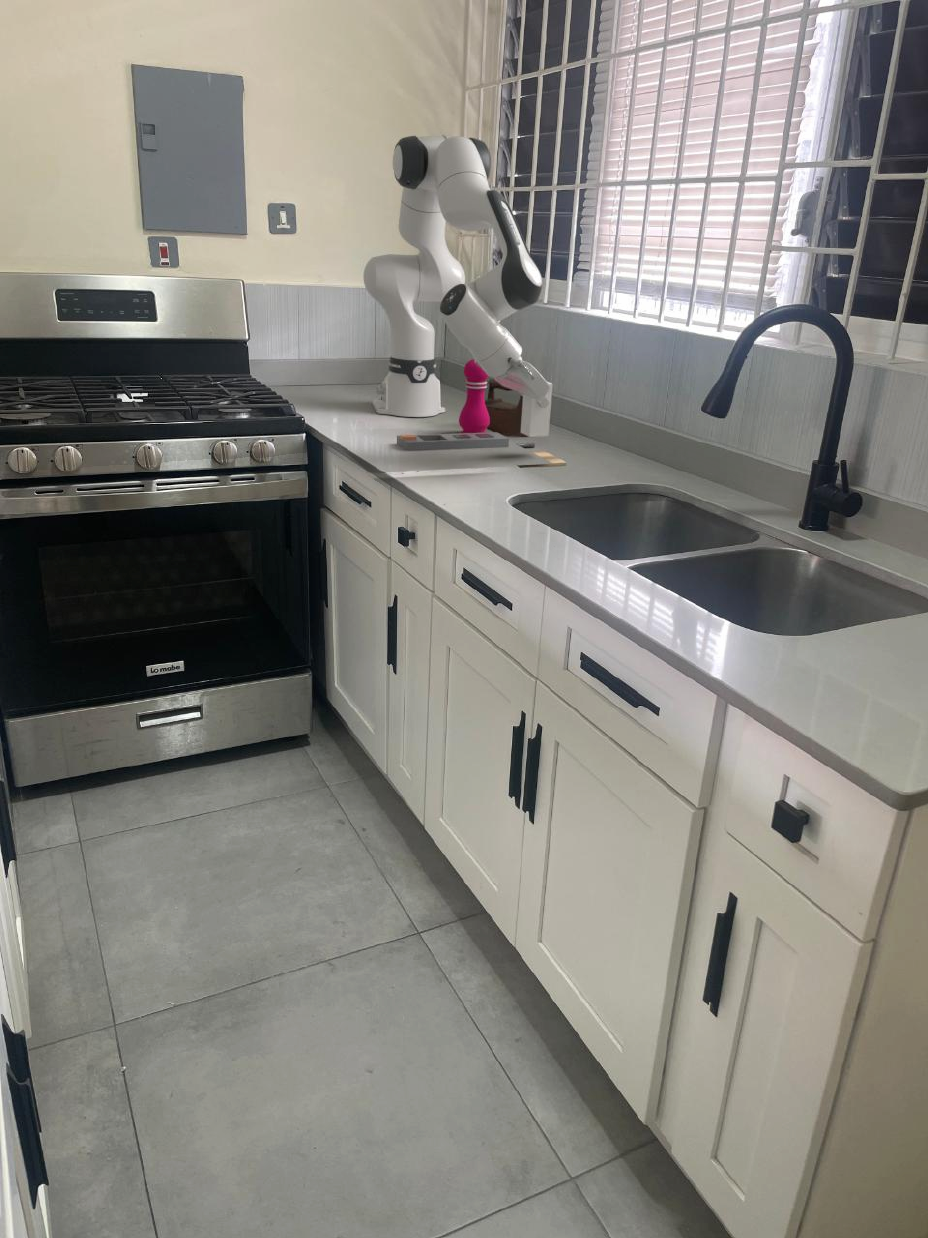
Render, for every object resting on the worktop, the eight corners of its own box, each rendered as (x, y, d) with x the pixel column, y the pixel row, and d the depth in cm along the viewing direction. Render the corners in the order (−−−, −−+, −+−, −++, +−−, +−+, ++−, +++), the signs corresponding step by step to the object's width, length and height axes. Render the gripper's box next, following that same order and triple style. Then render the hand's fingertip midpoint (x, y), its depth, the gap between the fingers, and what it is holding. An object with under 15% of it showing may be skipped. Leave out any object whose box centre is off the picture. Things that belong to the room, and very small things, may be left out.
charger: (520, 432, 202) (524, 379, 197) (539, 431, 203) (543, 379, 199) (529, 436, 198) (533, 382, 194) (548, 436, 199) (552, 382, 195)
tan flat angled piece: (499, 455, 206) (499, 452, 205) (544, 453, 210) (544, 450, 209) (520, 467, 196) (520, 464, 196) (566, 465, 200) (566, 462, 200)
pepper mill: (485, 444, 216) (490, 355, 208) (455, 441, 217) (458, 352, 209) (491, 437, 223) (496, 351, 215) (461, 435, 224) (465, 349, 216)
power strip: (396, 449, 207) (396, 432, 206) (527, 443, 218) (528, 428, 217) (406, 456, 201) (406, 439, 200) (540, 450, 212) (541, 434, 211)
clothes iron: (529, 441, 222) (533, 383, 216) (476, 430, 231) (479, 374, 226) (548, 436, 227) (552, 380, 222) (496, 426, 237) (499, 371, 231)
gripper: (532, 351, 182) (572, 400, 189) (491, 338, 200) (529, 384, 207) (510, 374, 182) (551, 423, 190) (471, 360, 200) (509, 405, 207)
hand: (539, 403), depth 198 cm, fingers closed on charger, 4 cm apart
